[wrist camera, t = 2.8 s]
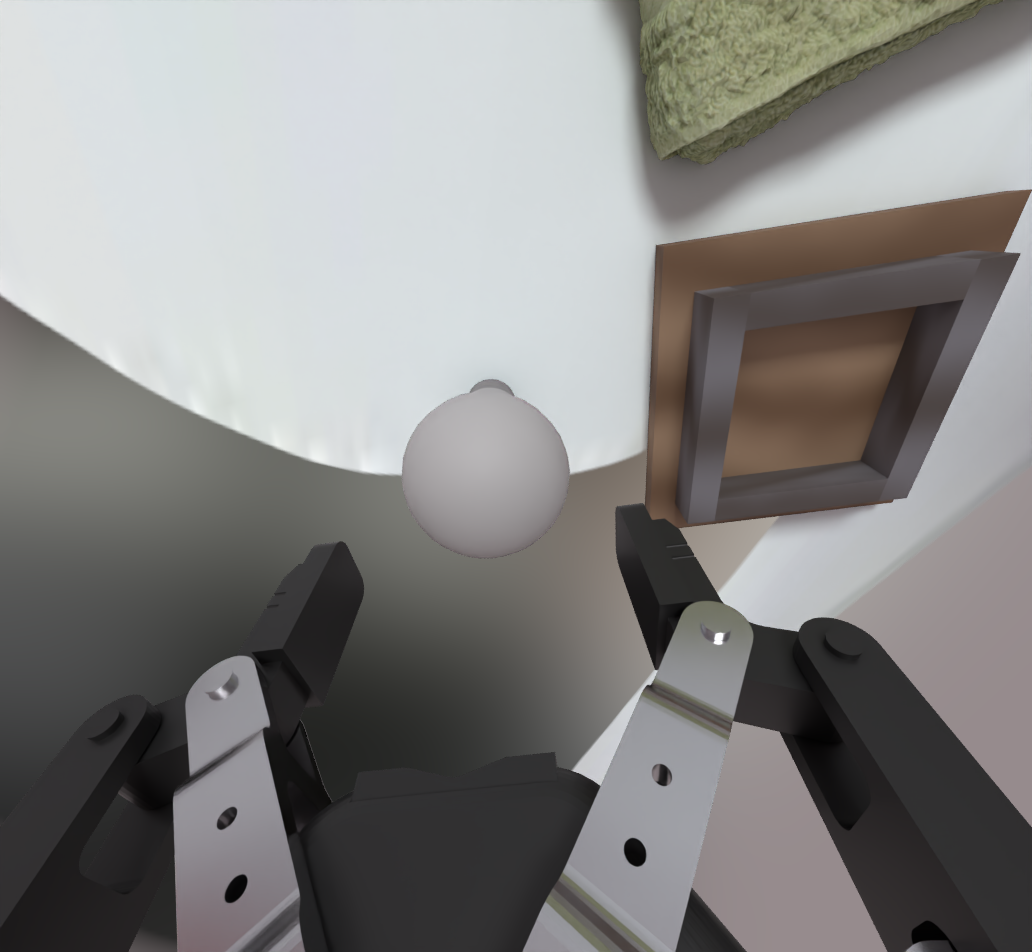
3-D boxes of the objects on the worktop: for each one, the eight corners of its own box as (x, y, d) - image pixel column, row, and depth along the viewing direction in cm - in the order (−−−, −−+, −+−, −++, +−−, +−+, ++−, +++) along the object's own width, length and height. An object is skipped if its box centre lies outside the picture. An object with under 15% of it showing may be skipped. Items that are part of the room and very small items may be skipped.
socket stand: (656, 245, 18) (681, 249, 16) (1006, 191, 17) (1091, 185, 15) (644, 521, 27) (659, 553, 24) (879, 493, 26) (920, 522, 23)
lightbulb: (425, 431, 23) (371, 576, 13) (448, 322, 20) (398, 413, 10) (528, 458, 24) (544, 608, 15) (564, 358, 21) (614, 469, 12)
